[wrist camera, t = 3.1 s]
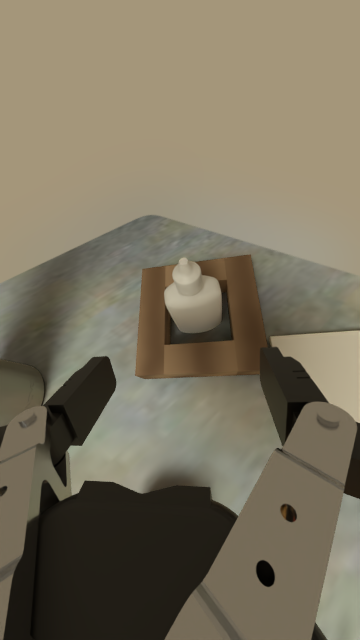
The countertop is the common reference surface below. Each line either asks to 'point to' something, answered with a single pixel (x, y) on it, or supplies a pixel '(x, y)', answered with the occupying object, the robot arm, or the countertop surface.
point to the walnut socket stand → (201, 357)
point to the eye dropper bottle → (193, 299)
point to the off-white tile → (328, 364)
